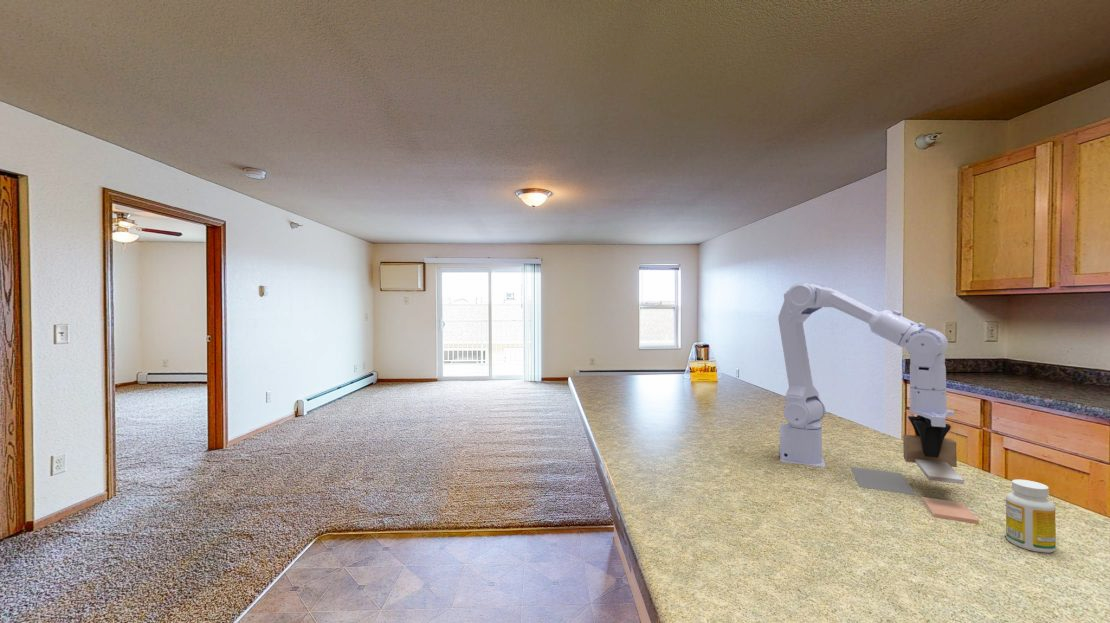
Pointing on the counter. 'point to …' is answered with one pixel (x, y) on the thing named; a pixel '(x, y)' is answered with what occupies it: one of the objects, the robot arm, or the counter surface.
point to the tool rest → (882, 480)
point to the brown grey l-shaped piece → (933, 459)
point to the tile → (949, 510)
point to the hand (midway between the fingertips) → (929, 454)
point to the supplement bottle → (1030, 517)
